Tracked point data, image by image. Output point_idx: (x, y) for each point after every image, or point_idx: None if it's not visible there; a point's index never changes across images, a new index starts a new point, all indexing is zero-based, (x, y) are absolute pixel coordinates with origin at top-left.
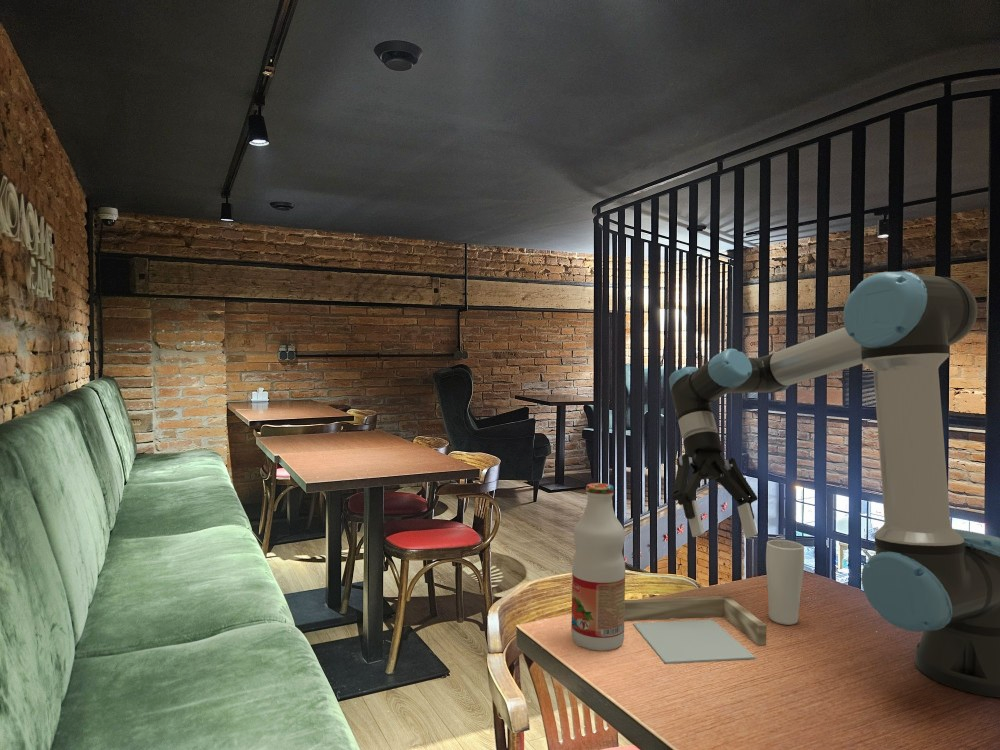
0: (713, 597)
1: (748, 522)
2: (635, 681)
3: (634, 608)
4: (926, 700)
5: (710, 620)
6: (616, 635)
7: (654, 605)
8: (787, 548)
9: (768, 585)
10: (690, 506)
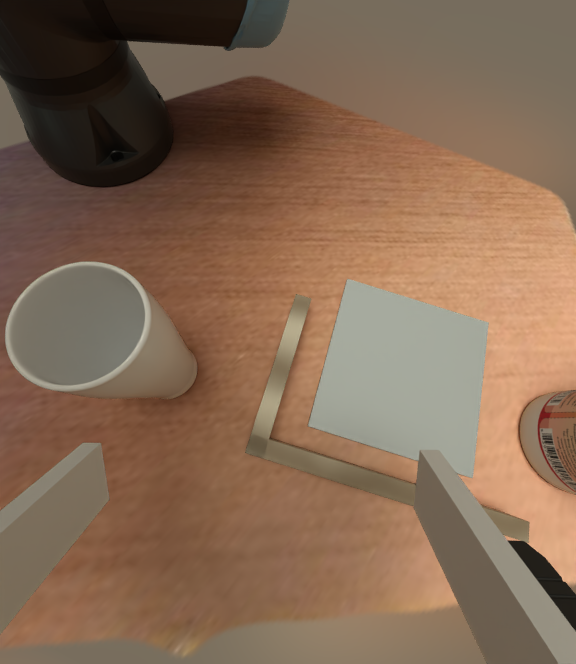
0: (286, 458)
1: (52, 510)
2: (548, 300)
3: None
4: (232, 129)
5: (315, 424)
6: (565, 391)
7: None
8: (129, 278)
9: (179, 374)
10: (572, 625)
